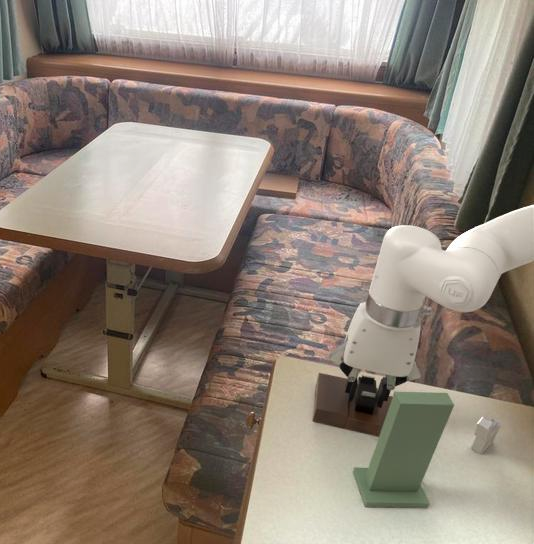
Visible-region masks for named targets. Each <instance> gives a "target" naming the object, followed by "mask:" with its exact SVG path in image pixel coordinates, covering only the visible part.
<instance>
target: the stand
mask: <svg viewBox="0 0 534 544" xmlns="http://www.w3.org/2000/svg"><path fill="white" fill-rule="evenodd" d="M392 397H393V398H392V401H391V404H390V407H389V410H388V412H387V415H386V418H385V421H384V424H383V427H382V430H381V433H380V436H379V437H378V438H377V441H376V444H375V448H374V450H373V453H372V456H371V459H370V462H369V465H368V467H359V466H357V467H353V470H352V473H353V477H354V480H355V482H356V485H357V488H358V491H359V494H360V496H361V500H362V502H363V505H364V507H365V508H411V509H412V508H414V509H415V508H416V509H417V508H418V509H422V508H423V509H428V508H429V506H430V504H431V503H430V501H429V499H428V497H427V494H426V491H425V490H424V488H423V486H422V482H423V480H424V478H425V475H426V473H427V470H428V468H429V465H430V464H431V461H432V459H433V456H434V454H435V452H436V449H437V447H438V444H439V442H440V440H441V438H442V436H443V434H444V431H445V428H446V426H447V424H448V421H449V419H450V416H451V415H452V412H453V409H454V408H455V407H454V406H455V404H454V402H453V400H452V399H451V397H450V395H449V393H448V392H429V391H428V392H427V391H426V392H425V391H394V392H393V396H392Z"/></svg>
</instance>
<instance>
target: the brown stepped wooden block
mask: <svg viewBox="0 0 534 544" xmlns="http://www.w3.org/2000/svg"><path fill="white" fill-rule="evenodd" d="M346 381H347V377H341V376H338V375H332V374H327V373H324V372H323V373H322V372H318V374H317V377H316V383H315V389H314V400H313V415H312V422H314V423H317V424H322V425H326V426H331V427H335V428H338V429H339V428H340V429H344V430H349V431H352V432H357V433H361V434H367V435H371V436H374V437H378V438H379V436H380V433H381V430H382V427H383V424H384V421H385V418H386V415H387V412H388V410H389V407H390V404H391V401H392V398H393V396H392V395H389V398H388V401H384V402H383V405H382V408H379V407H378V406H377V402H376V405H375V409H374V412H373V415H370V414H366V413H361V412H357V411H355V395H354V398H353V401H348V393H345V384H346ZM378 388H379V387H376V390H377V391H378Z"/></svg>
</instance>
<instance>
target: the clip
mask: <svg viewBox="0 0 534 544" xmlns="http://www.w3.org/2000/svg"><path fill="white" fill-rule="evenodd" d="M376 388H377V380H376V377H375V376H370V375H365V374H361V376H358V377H357V388H356V391H355V411H357V412H361V413H366V414H370V415H373V412H374V409H375V405H376V402H377V390H376Z"/></svg>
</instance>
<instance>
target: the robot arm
mask: <svg viewBox="0 0 534 544" xmlns="http://www.w3.org/2000/svg"><path fill="white" fill-rule="evenodd" d="M533 262H534V204H532V205H528V206H524V207H522V208H518V209H515V210H512V211H510V212H508V213H505V214H503V215H500V216H498V217H495V218H493V219H491V220H489V221H487V222H485V223H483V224H480V225H478V226H475V227H474V228H471V229H469V230H468V231H466V232H464V233H462V234H461V235H459V236H458V237H456V238H455V239H454V240H453V241H452V242H451V243H450V245H449V246H448V247H447V248H446V249H445V250H444V249H443V248H442V243H441V241H440V239H439V237H438V236H437V235H436V234H434V233H433V231H430V230H428V229H425V228H423V227H419V226H416V225H409V224H408V225H406V224H403V225H396V226H393V227H392V228H390V229H388V231H386V232H385V234H384V237H383V239H382V243H381V246H380V249H379V254H378V256H377V261H376V264H375V268H374V272H373V275H372V279H371V282H370V286H369V290H368V293H367V297H366V301H363V302H361V303H360V304H359V305H358V306H357V309H356V310H355V312H354V314H353V316H352V319H351V321H350V323H349V326H348V329H347V333H346V334H345V335H346V337H345V338H344V342H343V343H341V344H340V345H339V346H337V347H336V348H335V349H333V350H332V351H331V352H330V354H329V360H330V361H331V362H332V363H333V364H334V365H335V366H336V367H339V370H340V371H341V372H342V373H343V375H345V376H346V378H347V381H346V384H345V393H348V401H353V398H354V395H355V391H356V388H357V381H358V377H359V374H360V373H361V371H362V370H363V371H366V372H373V373H377V374H382V375H385V376H382V378H381V379H380V381H379V385H378V387H377V388H378V391H377V406H378V407H379V408H382V405H383V402H384V401H388V398H389V396H391V391H394V390H395V389H396V387H398V386H400V385H403V384H405V383H407V382H408V381H409V382H410V381H415V380H419V379H421V378H422V372H421V369H420V367H419V365H418V362H417V360H416V356H417V352H418V347H419V343H420V337H421V327H422V316H428V317H430V316H431V314H432V308H433V307H431V306H427V305H426V304H425V303H424V302H425V298H428V299H429V300H431V301H433V302H434V303H436V304H438V305H440V306H441V307H444V308H445V309H447V310H451V311H454V312H458V313H471V312H474V311H477V310H479V309H482V307H484V306H485V305H486V304H487V302H488V301H489V300H490V298H491V296H492V294H493V292H494V290H495V288H496V286H497V284H498V282H499V279H500V278H501V276H502V274H504V273H507V272H508V271H511V270H513V269H516V268H519V267H521V266H524V265H527V264H529V263H533Z"/></svg>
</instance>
